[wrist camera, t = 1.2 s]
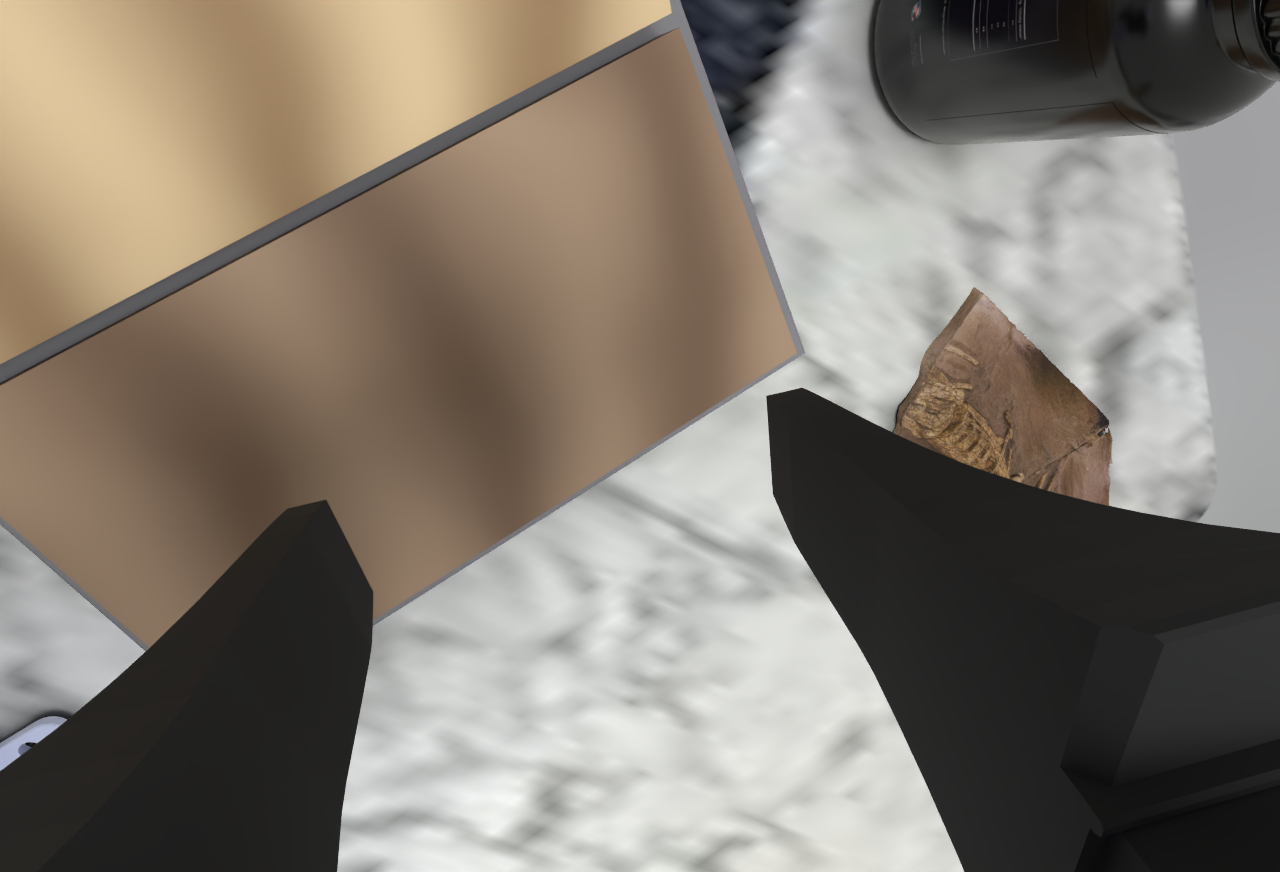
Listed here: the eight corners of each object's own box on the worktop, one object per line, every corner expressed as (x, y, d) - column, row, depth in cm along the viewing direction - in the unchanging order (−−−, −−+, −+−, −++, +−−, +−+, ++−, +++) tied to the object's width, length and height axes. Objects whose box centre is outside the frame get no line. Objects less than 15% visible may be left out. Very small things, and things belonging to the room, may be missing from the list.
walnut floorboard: (232, 679, 21) (224, 714, 20) (-58, 413, 17) (-93, 434, 15) (772, 343, 24) (797, 353, 23) (657, 36, 20) (679, 27, 18)
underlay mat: (226, 706, 22) (224, 719, 22) (-755, -168, 11) (-809, -184, 11) (795, 349, 25) (805, 353, 25) (455, -591, 15) (459, -620, 14)
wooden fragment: (849, 371, 27) (867, 379, 26) (1062, 221, 28) (1086, 223, 28) (989, 744, 39) (1004, 758, 38) (1132, 626, 41) (1150, 637, 40)
